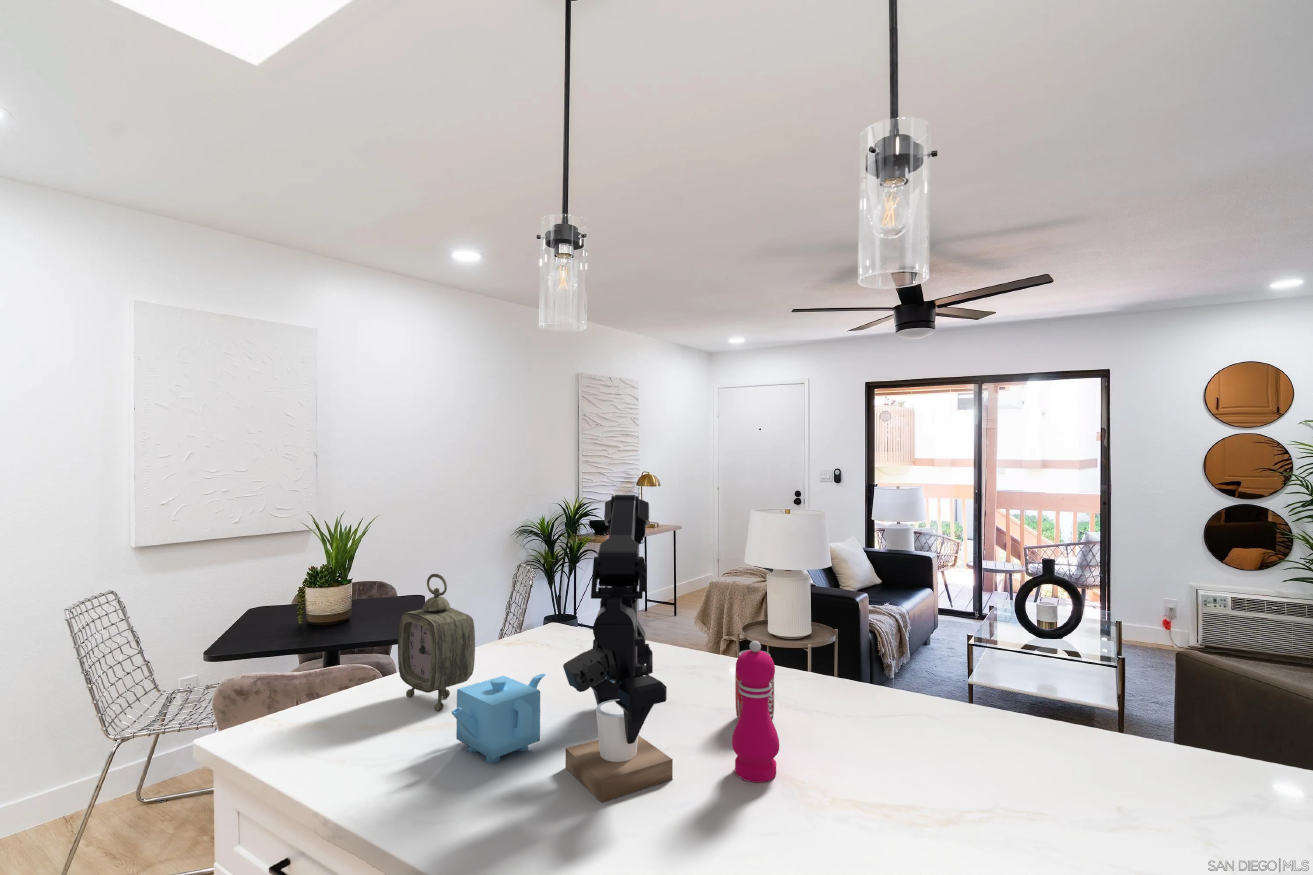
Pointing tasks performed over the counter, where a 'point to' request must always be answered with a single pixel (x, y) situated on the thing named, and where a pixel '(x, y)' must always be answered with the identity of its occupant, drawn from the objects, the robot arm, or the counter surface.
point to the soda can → (739, 695)
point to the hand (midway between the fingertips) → (618, 733)
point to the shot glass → (613, 733)
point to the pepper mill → (755, 718)
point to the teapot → (498, 716)
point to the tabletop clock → (435, 646)
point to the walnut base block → (618, 769)
